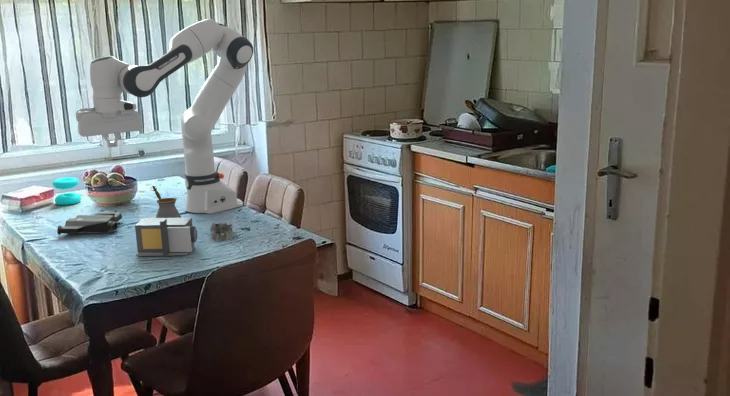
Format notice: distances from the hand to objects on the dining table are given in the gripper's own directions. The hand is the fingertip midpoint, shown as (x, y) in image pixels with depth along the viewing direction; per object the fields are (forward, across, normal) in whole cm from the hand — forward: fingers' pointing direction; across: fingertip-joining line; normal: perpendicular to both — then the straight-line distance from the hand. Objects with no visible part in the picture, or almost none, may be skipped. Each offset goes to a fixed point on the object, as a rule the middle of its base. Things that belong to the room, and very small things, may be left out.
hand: (112, 146), depth 239 cm
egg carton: (+32, +28, -22) cm, 48 cm away
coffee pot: (+31, +13, -7) cm, 35 cm away
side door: (+30, +8, -35) cm, 47 cm away
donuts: (+31, -7, +58) cm, 66 cm away
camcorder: (+32, -6, +12) cm, 34 cm away
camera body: (+31, +7, -28) cm, 43 cm away
